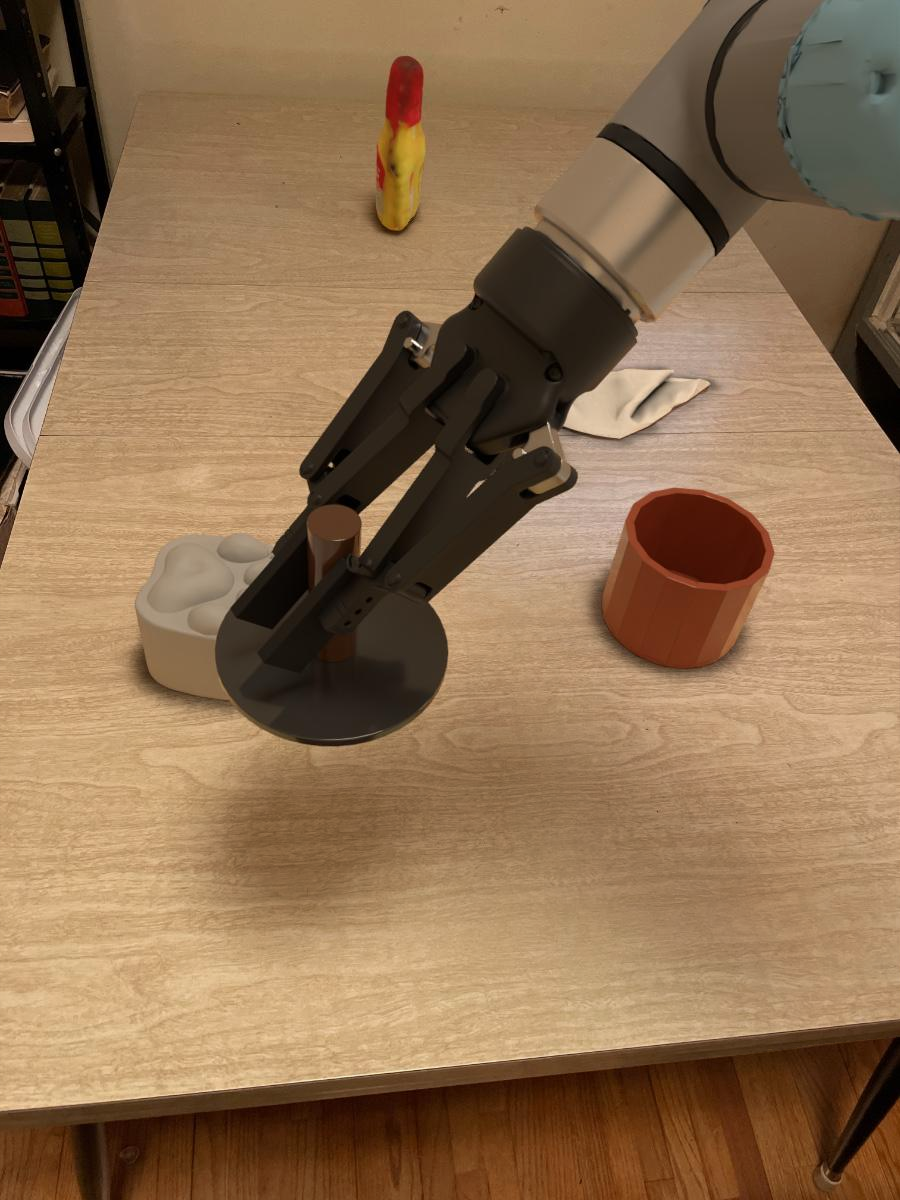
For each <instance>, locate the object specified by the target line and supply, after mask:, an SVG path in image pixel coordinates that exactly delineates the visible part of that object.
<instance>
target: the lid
mask: <svg viewBox="0 0 900 1200" xmlns="http://www.w3.org/2000/svg"><path fill="white" fill-rule="evenodd" d="M362 531H363V520H362V518H361V517H360V514H359V515H358V514H357V513H356V512H355V511H354V510H353V509H351V508H349V507H346V506H343V505H336V504H332V505H325V506H321V507H319V508H317V509H315V510H314V511H313V512H312V513H311V514H310V515H309V517H308V519H307V557H308V590H307V591H306V592H305V593H304V594H303V595H302V597H301V598H300V599H299V600H298V601H297V602H296V603H295V605H294V606H293V607H292V608H291V609H290V610H289V611H288V613H287V614H286V615H285V616H284V617H283V618H282V619H281V620H280V622H279V623H278V624H277V625H276V626H275V627H274V628H273V630H272V629H269V628H265V627H262V626H259V625H256V624H253V623H250V622H247V621H244V620H241V619H238V618H236V617H235V616H234V614H233V612H232V611H231V609H229V611H228V612H227V613H226V615H225V617H224V619H223V621H222V623H221V625H220V627H219V630H218V634H217V637H216V643H215V664H216V670H217V674H218V679H219V681H220V684H221V686H222V689H223V691H224V692H225V694H226V696H227V697H228V699H229V700H228V701H229V702H230V703H231V704H232V706H233V707H234V708H235V709H236V710H237V711H238V712H239V713H240V714H241V715H242V716H243V717H244V718H245V719H246V720H248V722H250V723H252V724H253V725H255V726H256V727H258V728H259V729H261V730H263V731H264V732H266V733H269V734H271V735H273V736H275V737H277V738H281V739H282V740H283V739H284V740H285V741H289V742H292V743H297V744H300V745H304V746H305V745H306V746H313V747H314V746H315V747H324V748H325V747H328V748H329V747H332V748H333V747H334V748H335V747H336V748H337V747H338V748H339V747H347V746H357V745H360V744H366V743H370V742H374V741H376V740H379V739H382V738H385V737H387V736H389V735H392V734H394V733H396V732H397V731H400V730H401V729H403V728H405V727H406V726H407V725H410V723H412V722H413V721H414V720H416V719H417V718H418V717H419V716H421V715H422V714H423V713H424V711H425V710H426V709H428V707H429V706H430V705H431V704H432V703H433V701H434V700H435V698H436V697H437V695H438V693H439V692H440V690H441V688H442V685H443V683H444V681H445V677H446V673H447V670H448V662H449V642H448V637H447V633H446V630H445V626H444V625H443V622H442V619H441V618H440V616H439V614H438V613H437V612H436V609H435V608H434V607H433V606H432V604H431V603H430V601H429V602H427V603H426V604H418V603H415V602H413V601H411V600H408V599H406V598H404V597H401V596H399V595H397V594H395V593H389V594H387V595H386V596H384V597H383V598H382V599H381V601H380V602H379V603H378V604H377V605H376V606H375V607H374V608H373V609H372V610H371V612H370V613H369V614H368V615H367V616H366V617H364V619H363V620H362V622H361V623H359V625H358V626H357V627H356V628H355V629H354V630H353V631H352V632H351V633H349V634H347V635H345V636H341V635H338V634H335V635H334V636H333V637H332V638H331V639H330V641H329V642H328V643H327V644H326V645H325V646H324V647H323V648H322V649H321V651H320V652H319V653H318V654H317V655H316V656H315V657H314V658H313V659H312V661H311V662H310V663H309V664H308V665H307V666H306V667H305V668H304V669H303V671H302V672H301V673H297V672H294V671H290V670H286V669H283V668H279V667H276V666H272V665H269V664H265V663H263V661H262V660H261V658H260V656H259V655H258V653H257V652H258V651H259V650H260V649H261V648H262V646H263V645H264V644H265V643H266V642H267V641H268V640H269V638H270V637H271V636H272V635H273V634H274V633H275V632H276V631H277V629H278V628H279V627H280V626H281V625H282V624H283V623H284V621H285V620H286V619H287V618H288V617H289V616H290V615H291V614H292V612H293V611H294V610H295V609H296V608H297V607H298V606H299V604H300V603H301V602H302V601H303V600H304V599H305V598H306V597H307V595H308V594H309V593H310V592H311V591H312V590H313V589H314V587H315V586H316V585H317V584H318V583H319V582H320V581H321V580H322V578H323V577H324V576H325V575H326V574H327V573H328V572H329V570H330V569H331V568H332V567H333V566H334V565H335V564H336V562H337V561H338V560H339V559H340V558H341V557H344V558H346V559H347V557H348V555H349V553H350V554H352V555H354V556H357V557H360V556H361V554H362V533H363V532H362Z"/></svg>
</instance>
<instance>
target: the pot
mask: <svg viewBox="0 0 900 1200" xmlns="http://www.w3.org/2000/svg"><path fill="white" fill-rule="evenodd" d="M775 554H776V553H775V549H774V546H773V543H772V539H771V536H770V533H769V531H768V530H767V529H766V527H764V525H763V524H762V523H761V522H760V520H759V519H758V518H757V517H756V516H755V515H754V514H753V513H752V512H751V511H748V509H746V508H744V507H743V506H741V505H740V504H738V503H736V502H735V501H733V500H732V499H729V498H728V497H726V496H722V495H719V494H716V493H714V492H710V491H707V490H704V489H699V488H697V489H696V488H687V487H670V488H669V487H668V488H664V489H659V490H654V491H651V492H649V493H648V494H646V495H645V496H643V497H642V498H640V499H638V500H637V501H635V502H634V503H632V506H631V508H630V510H629V512H628V514H627V516H626V518H625V520H624V523H623V527H622V530H621V533H620V537H619V541H618V544H617V547H616V550H615V553H614V555H613V560H612V563H611V566H610V569H609V573H608V576H607V579H606V582H605V585H604V589H603V592H602V595H601V612H602V616H603V619H604V622H605V624H606V626H607V628H608V630H609V631H610V633H611V634H612V635H613V637H614V638H615V639H616V640H617V641H618V642H619V644H621V645H622V646H623V647H625V649H627V650H628V651H630V652H631V653H633V654H634V655H636V656H637V657H639V658H642V659H644V660H645V661H648V662H651V663H654V664H656V665H659V666H664V667H667V668H676V669H695V668H701V667H706V666H709V665H711V664H714V663H715V662H717V661H719V660H720V659H723V657H725V655H726V654H728V652H730V650H731V648H733V647H734V646H735V643H736V642H737V639H738V638H739V636H740V634H741V632H742V629H743V627H744V625H745V623H746V621H747V620H748V617H749V615H750V612H751V610H752V609H753V606H754V603H755V602H756V600H757V598H758V595H759V594H760V592H761V589H762V587H763V586H764V583H765V581H766V579H767V578H768V576H769V573H770V570H771V567H772V563H773V560H774V556H775Z"/></svg>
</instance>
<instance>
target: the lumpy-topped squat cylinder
mask: <svg viewBox="0 0 900 1200" xmlns="http://www.w3.org/2000/svg"><path fill="white" fill-rule="evenodd" d="M273 548H274V546H273V545H269V544H267V543H263V542H262V541H261V540H260V539H258V538H257V537H255V536H253V535H251V534H248V533H243V532H239V533H237V532H236V533H232V534H229V535H227V536H220V535H212V534H188V535H183V536H180V537H177V538H175V539H172V540H171V541H169V542H167V543H165V544H164V545H163V546H162V547H161V548H160V549H159V550H158V552H157V554H156V557H155V559H154V564H153V569H152V571H151V574H150V575H149V577H148V578H147V580H146V582H145V583H144V584H143V586H141V588H139V591H138V592H137V594H136V596H135V599H134V609H135V614H136V620H137V624H138V629H139V633H140V639H141V643H142V648H143V652H144V657H145V662H146V666H147V670H148V672H149V675H150V677H151V678H152V679H153V680H154V681H156V682H157V683H158V684H160V685H161V686H163V687H165V688H168V689H170V690H172V691H176V692H180V693H185V694H188V695H192V696H196V697H201V698H209V699H214V700H220V701H221V700H222V701H229V699H228V697H227V696H226V694H225V692H224V691H223V689H222V686H221V684H220V681H219V679H218V674H217V670H216V664H215V643H216V637H217V634H218V630H219V627H220V625H221V623H222V621H223V619H224V617H225V615H226V613H227V612H228V611H229V609H230V607H231V606H232V605H233V604H234V603H235V602H236V601H237V599H238V598H239V597H240V596H241V595H242V594H243V592H244V591H245V590H246V589H247V588H248V587H249V585H250V584H251V583H252V582H253V581H254V580H255V578H256V577H257V576H258V575H259V574H260V573H261V572H262V570H263V569H264V568H265V567H266V566H267V565H268V563H269V562H270V561H271V560H272V559H273V558H274V554H273V553H272V550H273Z"/></svg>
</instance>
